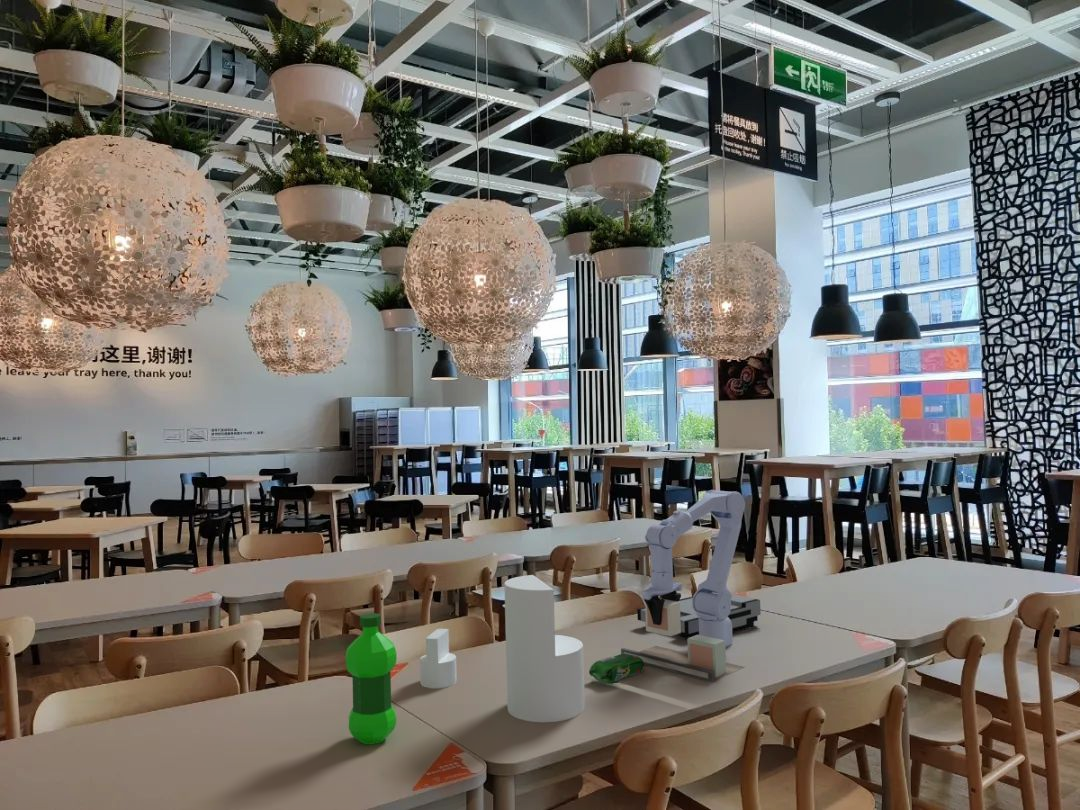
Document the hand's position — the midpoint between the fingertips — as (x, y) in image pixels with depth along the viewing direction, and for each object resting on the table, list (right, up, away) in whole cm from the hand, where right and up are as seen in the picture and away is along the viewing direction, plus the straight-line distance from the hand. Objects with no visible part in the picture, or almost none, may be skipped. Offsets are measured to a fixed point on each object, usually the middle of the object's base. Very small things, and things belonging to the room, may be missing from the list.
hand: (663, 622), depth 201 cm
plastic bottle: (-67, -11, -45) cm, 81 cm away
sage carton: (+9, -9, -12) cm, 17 cm away
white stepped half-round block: (-58, -12, -11) cm, 60 cm away
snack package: (-13, -11, -12) cm, 21 cm away
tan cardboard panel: (+4, -10, -4) cm, 12 cm away
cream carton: (0, -3, 0) cm, 3 cm away
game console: (+16, -11, +32) cm, 37 cm away
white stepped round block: (-31, -11, -30) cm, 45 cm away
